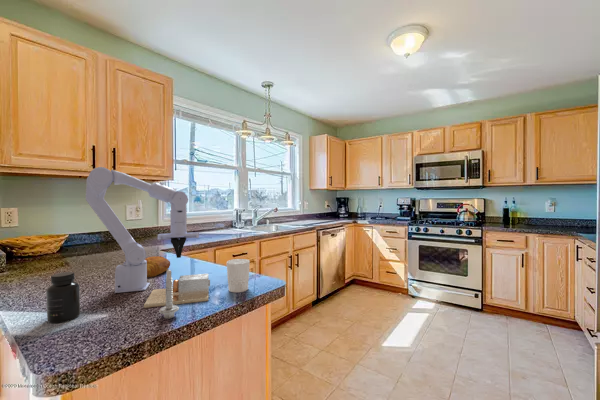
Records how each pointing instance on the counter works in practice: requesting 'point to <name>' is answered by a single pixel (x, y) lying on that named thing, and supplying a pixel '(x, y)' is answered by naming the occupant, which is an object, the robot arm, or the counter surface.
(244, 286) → the white cup
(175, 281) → the shaft
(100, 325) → the counter surface
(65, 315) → the supplement bottle
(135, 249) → the robot arm
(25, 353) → the counter surface
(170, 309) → the screw
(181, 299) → the bearing block
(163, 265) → the croissant
